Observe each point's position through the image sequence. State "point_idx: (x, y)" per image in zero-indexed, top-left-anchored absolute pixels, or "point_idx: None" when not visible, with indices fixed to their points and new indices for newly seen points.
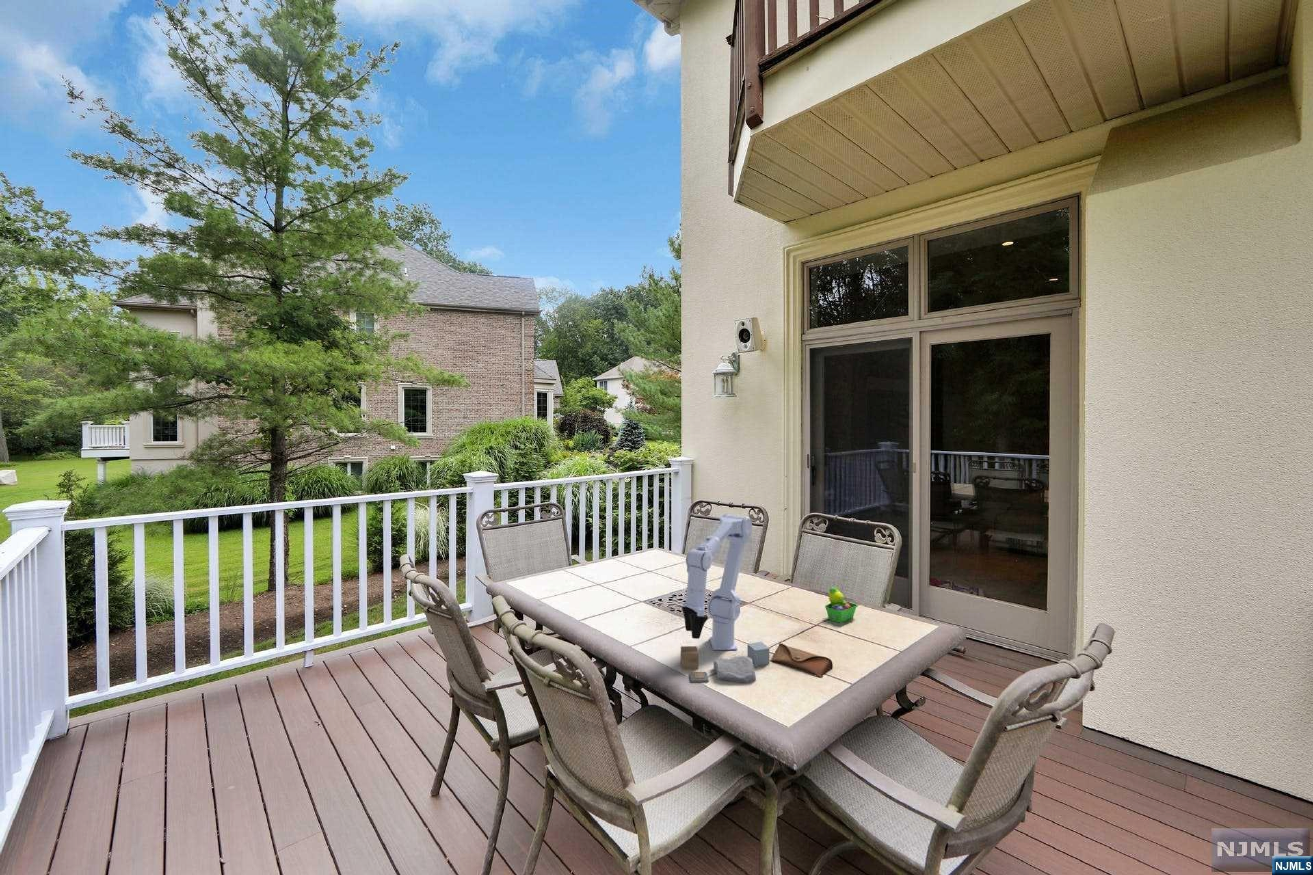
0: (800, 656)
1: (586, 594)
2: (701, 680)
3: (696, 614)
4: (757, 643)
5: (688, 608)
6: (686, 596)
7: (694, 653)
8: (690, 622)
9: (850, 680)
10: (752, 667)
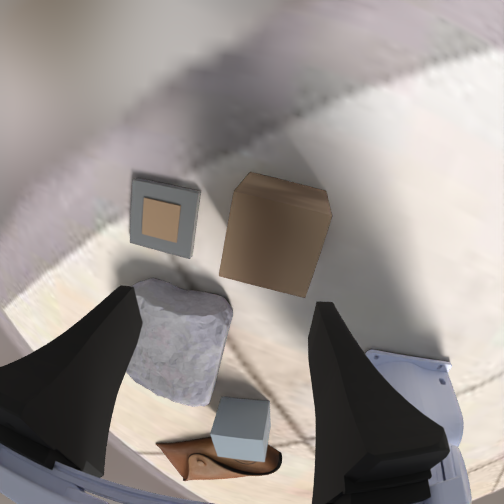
0: (201, 466)
1: None
2: (132, 217)
3: (9, 435)
4: (256, 453)
5: (342, 483)
6: None
7: (222, 256)
8: (322, 375)
9: (147, 457)
10: (141, 382)
